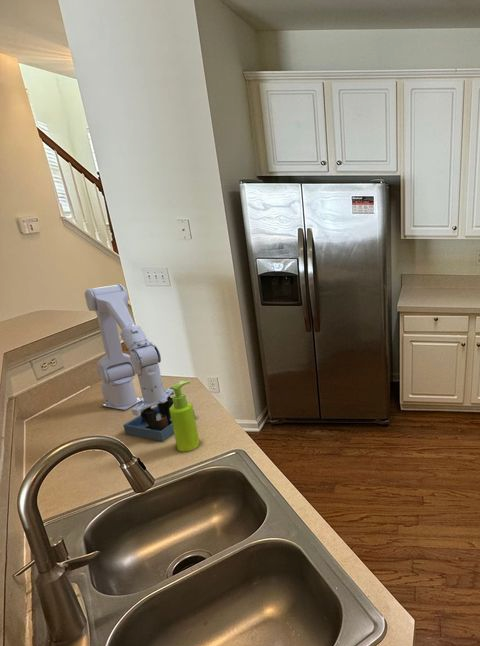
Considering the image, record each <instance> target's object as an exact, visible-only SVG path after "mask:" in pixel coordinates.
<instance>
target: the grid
mask: <svg viewBox="0 0 480 646" xmlns="http://www.w3.org/2000/svg"><path fill="white" fill-rule="evenodd" d="M151 409H153V410H157V414H161V413H160V410H159V407H158V405H154V406H152V407H151ZM193 412H194V417H195V418H196V415H195V410H194V409H193ZM168 424H169V426H167V427H166V428H164V429H163V430H161V431H158V430H153V429H150V427H149V426H148V424H147V422H146V421H145V420H144V418H143V417H142V416H140V415H139V416H136V417H135V418H133V419H131V420H129V421H127V422H126V423H124V424H123V429H124V433H125V434H126V435H130V436H134V437H135V436H136V437H140V438H144V439H149V440H154V441H159V442H164V441H165V440H167V439H168V438H170V437H171V436H172V435H175V434H174V429H173V424H172V419H171V415H170V421H168Z"/></svg>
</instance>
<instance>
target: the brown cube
mask: <svg viewBox="0 0 480 646" xmlns="http://www.w3.org/2000/svg"><path fill="white" fill-rule="evenodd" d="M156 421H157V429H156V430H158V431H161V430H163V429H164V428H166V427H167V426H169V424H168V419H167V415H166V414H156ZM153 430H154V429H153Z"/></svg>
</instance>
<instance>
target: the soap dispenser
mask: <svg viewBox="0 0 480 646" xmlns="http://www.w3.org/2000/svg"><path fill="white" fill-rule="evenodd" d="M188 384H191V381H189V380H182V381H178V382H177V383H175V384H173V385H171V386H169V388H171V389H172V390H174V392H175V395H172V396H171V398H172V399H173V405H172V406H171V407H170V409H169V410H170V415H171V419H172V424H173V429H174V434H173V435H174V439H175V443H176V448H177V450H178V451H179V452H190V451H193V450H195V449H196V448H198V447H199V446H200V439H199V434H198V429H197V428H198V427H197V423H196V416H195V417H194V414H195V411H194V412H193V410H194V407H193V403H191V402H188V401H187V395H186V394H185V393H182V387H184V386H186V385H188Z"/></svg>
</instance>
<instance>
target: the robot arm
mask: <svg viewBox="0 0 480 646" xmlns="http://www.w3.org/2000/svg"><path fill="white" fill-rule="evenodd" d="M84 298H85V303H86V307H87V309H88V311H90V312H95V314H96V317H97V321H98V326H99V331H100V335H101V339H102V344H103V349H104V352H105V355H103V356H102V357H101V358H100V359H99V360H98V361H97V374H98V377H99V379H100V381H101V382H102V384H101V393H102V396H103V400H104V402H105V403H104V404H103V407H106V408H110V409H116V410H121V411H125V410H128V409H130V408H131V407H133V408H131V412H132V415H133V416H136V417H138V416H142V417H143V418H144V420H145V421H146V422H147V424H148V426H149V427H150V429H154V430H156V429H157V421H156V414H157V410H153V409H151V408H153V407H155V406H157V405H158V407H159V410H160V413H161V414H166V415H167V419H168V421H170V410H169V409H170V407H171V406H173V405H174V404H173V399H172V396H174V395H175V392H174V390H172V389H171V388H170V387H168V388H166V389H164V385H163V380H162V379H163V378H162V375H161V370H160V369H161V368H160V363H162V362H161V361H162V358H161V357H162V356H161V352H160V350H159V348H158V347H157V346H156V344H154V343H153V342H152V341H149V338H147V336H146V334H145V331H143V329H142V327H141V326H139V325H136V324H135V323H134V320H133V318H132V316H131V314H130V311H129V309H128V306H129V294H128V290H127V288H126V287H125V286H124V285H123V284H121V283H117V284H114V285H108V286H107V285H106V286H100V287H94V288H86V289H85V291H84ZM119 329H120V330H121V331H119ZM121 340H122V342H123V343H124V345H125V347H126V348H127V350H128V352H129V354H128V353H125V352H123V348H122V342H121ZM136 374H137V377H138V383H139V387H140V392H141V396H142V397H139V396H138V397H137V393H136V389H135V385H134V382H133V381H134V379H135V376H136Z"/></svg>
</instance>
